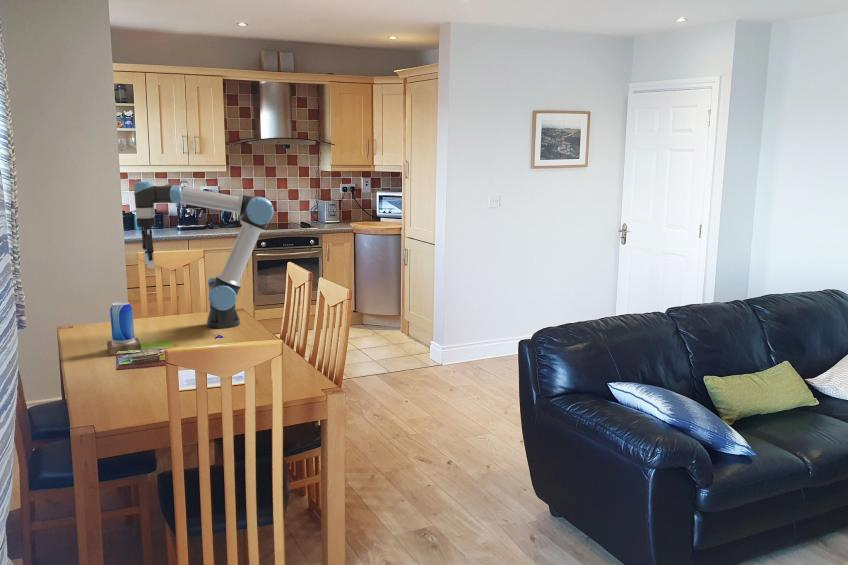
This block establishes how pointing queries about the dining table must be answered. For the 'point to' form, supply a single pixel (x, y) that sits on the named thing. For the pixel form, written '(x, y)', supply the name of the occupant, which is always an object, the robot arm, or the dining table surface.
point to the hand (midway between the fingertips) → (149, 266)
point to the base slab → (122, 346)
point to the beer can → (122, 322)
